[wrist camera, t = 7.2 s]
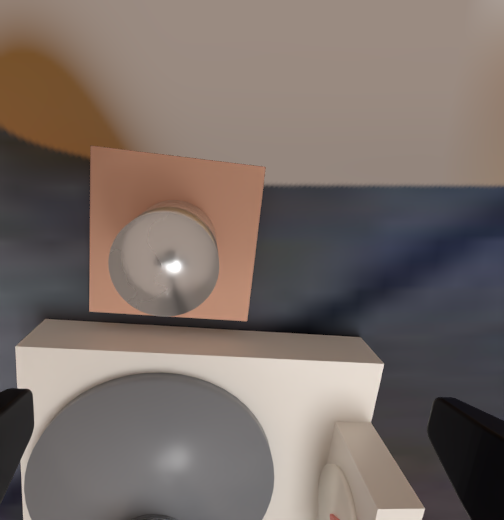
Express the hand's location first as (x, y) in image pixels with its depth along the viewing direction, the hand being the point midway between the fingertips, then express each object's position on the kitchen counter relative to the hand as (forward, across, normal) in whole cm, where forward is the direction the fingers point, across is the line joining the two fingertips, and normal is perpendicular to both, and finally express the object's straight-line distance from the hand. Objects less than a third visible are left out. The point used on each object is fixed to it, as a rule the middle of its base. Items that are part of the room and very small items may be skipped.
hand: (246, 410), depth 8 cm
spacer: (+11, +3, -2) cm, 11 cm away
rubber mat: (+12, +3, -2) cm, 12 cm away
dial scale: (+12, +1, +10) cm, 16 cm away
